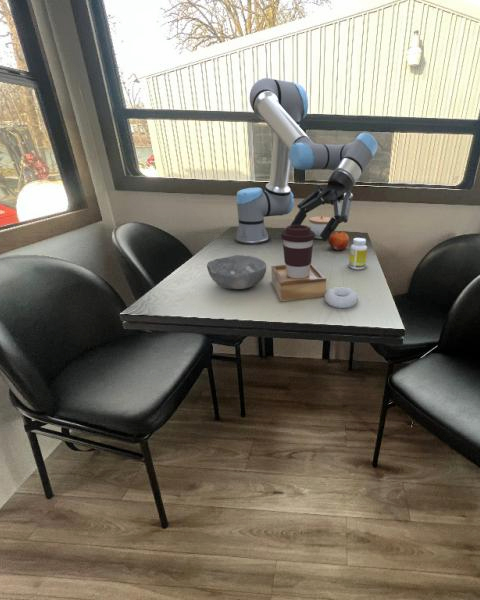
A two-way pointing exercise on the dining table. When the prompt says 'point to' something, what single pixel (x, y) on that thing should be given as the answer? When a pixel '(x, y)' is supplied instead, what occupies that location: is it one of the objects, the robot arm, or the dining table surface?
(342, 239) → the tomato
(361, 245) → the pill bottle
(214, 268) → the bowl
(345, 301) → the donut
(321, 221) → the lidded bowl
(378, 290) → the dining table surface
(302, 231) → the coffee cup
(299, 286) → the wooden box
